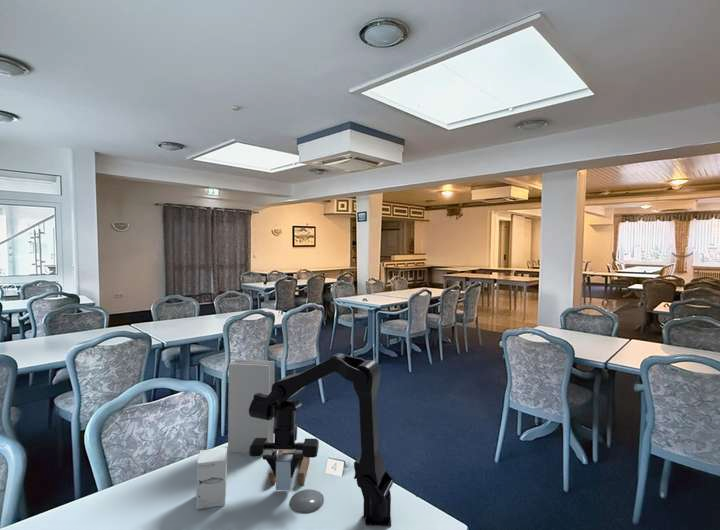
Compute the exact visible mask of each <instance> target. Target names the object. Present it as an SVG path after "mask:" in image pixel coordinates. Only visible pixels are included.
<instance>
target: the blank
mask: <svg viewBox="0 0 720 530" xmlns="http://www.w3.org/2000/svg"><path fill="white" fill-rule="evenodd" d="M292 458H293V455H285V454H279V456H278V458H277V461H276V482H275V491H291V488H292V485H293V481H294V480H293V479H294V478H291V468H292Z"/></svg>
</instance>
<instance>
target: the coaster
mask: <svg viewBox="0 0 720 530" xmlns="http://www.w3.org/2000/svg"><path fill="white" fill-rule="evenodd" d="M324 502H325V498H324V495H323V494H322V493H321V492H320V491H319V490H316V489H311V488H307V489H301V490H299V491H296V492H295V493H294V494H293V495H292V496H291V497H290V506H291V508H292V509H293V510H294V511H297V512H300V513H313V512H316V511H317V510H318V509H321V507H322V506H323V505H324Z"/></svg>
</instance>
